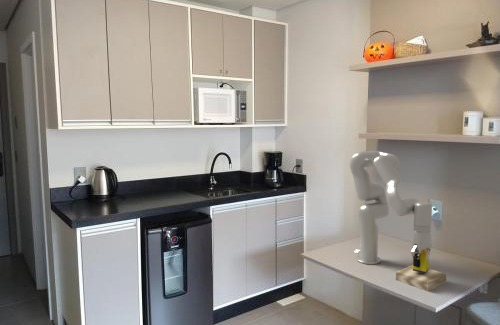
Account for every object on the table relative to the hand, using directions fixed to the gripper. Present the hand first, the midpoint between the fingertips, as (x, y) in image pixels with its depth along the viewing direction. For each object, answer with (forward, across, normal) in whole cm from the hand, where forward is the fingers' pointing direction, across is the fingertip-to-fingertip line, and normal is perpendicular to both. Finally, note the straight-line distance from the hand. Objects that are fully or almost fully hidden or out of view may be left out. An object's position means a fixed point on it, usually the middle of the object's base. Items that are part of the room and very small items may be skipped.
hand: (420, 264), depth 180 cm
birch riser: (+8, 0, 0) cm, 8 cm away
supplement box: (+3, 0, 0) cm, 3 cm away
